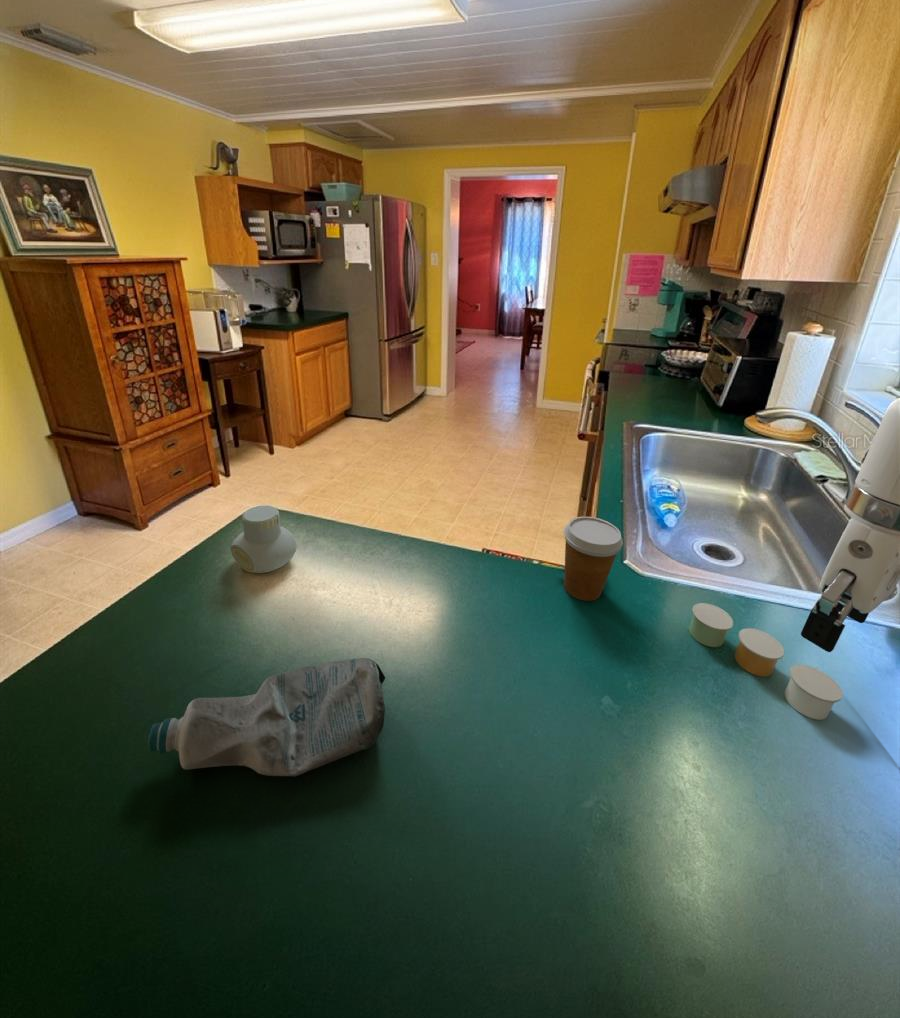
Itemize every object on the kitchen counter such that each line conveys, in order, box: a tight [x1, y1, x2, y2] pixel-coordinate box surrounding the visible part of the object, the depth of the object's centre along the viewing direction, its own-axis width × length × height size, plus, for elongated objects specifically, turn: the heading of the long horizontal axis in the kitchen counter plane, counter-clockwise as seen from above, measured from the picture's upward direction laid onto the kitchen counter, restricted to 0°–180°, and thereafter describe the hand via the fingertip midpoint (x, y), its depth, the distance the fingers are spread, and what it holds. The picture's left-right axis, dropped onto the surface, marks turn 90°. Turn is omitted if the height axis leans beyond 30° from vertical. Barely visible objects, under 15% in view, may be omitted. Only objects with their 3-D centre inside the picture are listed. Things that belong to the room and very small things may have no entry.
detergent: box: [147, 657, 386, 777], centre depth 53 cm, size 13×7×25 cm
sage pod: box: [688, 602, 734, 648], centre depth 73 cm, size 6×6×4 cm
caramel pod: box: [734, 627, 785, 678], centre depth 68 cm, size 6×6×4 cm
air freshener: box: [230, 504, 298, 574], centre depth 82 cm, size 11×8×10 cm
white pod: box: [784, 664, 843, 721], centre depth 62 cm, size 6×6×4 cm
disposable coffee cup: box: [563, 516, 624, 602], centre depth 80 cm, size 10×10×12 cm
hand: (832, 628), depth 58 cm, fingers open, 9 cm apart
